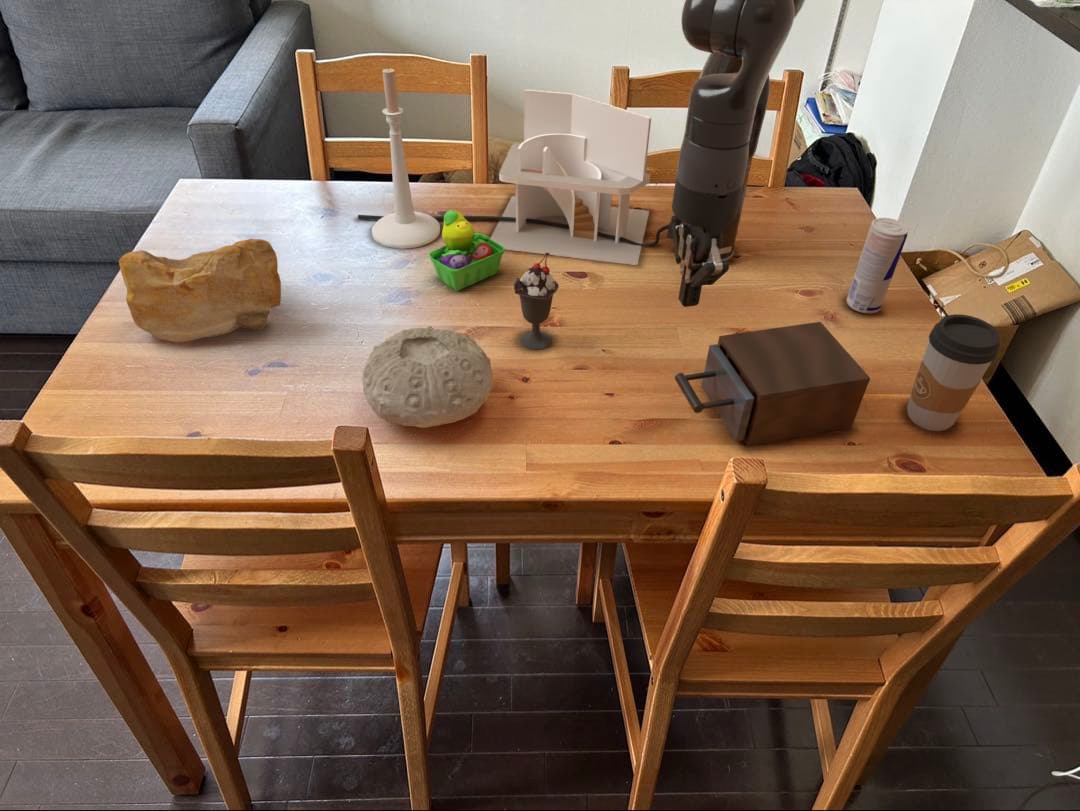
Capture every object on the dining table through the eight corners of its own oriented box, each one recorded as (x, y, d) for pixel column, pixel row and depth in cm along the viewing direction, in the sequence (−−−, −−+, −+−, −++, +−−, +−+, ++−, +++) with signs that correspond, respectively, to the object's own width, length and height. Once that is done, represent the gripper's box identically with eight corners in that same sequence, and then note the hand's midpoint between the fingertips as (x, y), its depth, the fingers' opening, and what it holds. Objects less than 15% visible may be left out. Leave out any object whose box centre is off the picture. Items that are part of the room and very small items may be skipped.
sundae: (562, 332, 125) (565, 249, 115) (548, 357, 120) (551, 272, 110) (523, 324, 126) (523, 241, 116) (508, 348, 121) (507, 263, 112)
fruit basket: (455, 297, 132) (451, 237, 124) (424, 276, 137) (419, 217, 129) (507, 274, 137) (506, 215, 130) (476, 254, 142) (474, 196, 135)
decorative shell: (449, 349, 121) (444, 294, 114) (519, 410, 111) (518, 354, 104) (344, 395, 112) (333, 339, 106) (410, 466, 102) (402, 408, 95)
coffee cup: (888, 399, 114) (923, 313, 104) (943, 396, 114) (983, 310, 104) (913, 438, 107) (953, 351, 97) (972, 435, 108) (1017, 348, 98)
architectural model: (485, 247, 144) (481, 121, 129) (512, 195, 160) (511, 77, 145) (637, 265, 140) (651, 137, 125) (649, 210, 156) (663, 91, 140)
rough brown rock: (308, 291, 134) (289, 207, 125) (288, 342, 121) (266, 253, 112) (170, 297, 133) (142, 214, 124) (135, 350, 120) (100, 261, 111)
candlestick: (404, 209, 155) (387, 49, 135) (454, 228, 150) (443, 65, 130) (357, 234, 147) (331, 69, 127) (407, 255, 142) (388, 86, 122)
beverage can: (882, 317, 129) (912, 236, 119) (847, 313, 130) (873, 231, 120) (878, 298, 133) (907, 218, 123) (844, 294, 134) (870, 214, 124)
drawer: (696, 448, 104) (704, 406, 99) (664, 391, 113) (670, 350, 108) (833, 424, 108) (847, 383, 103) (792, 371, 116) (803, 331, 112)
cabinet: (747, 447, 106) (761, 395, 100) (708, 386, 115) (719, 335, 109) (851, 429, 109) (870, 378, 102) (805, 371, 118) (820, 321, 112)
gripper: (658, 153, 92) (643, 278, 104) (701, 206, 82) (679, 338, 94) (718, 147, 93) (696, 272, 105) (766, 199, 84) (737, 330, 95)
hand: (688, 303), depth 100 cm, fingers closed
